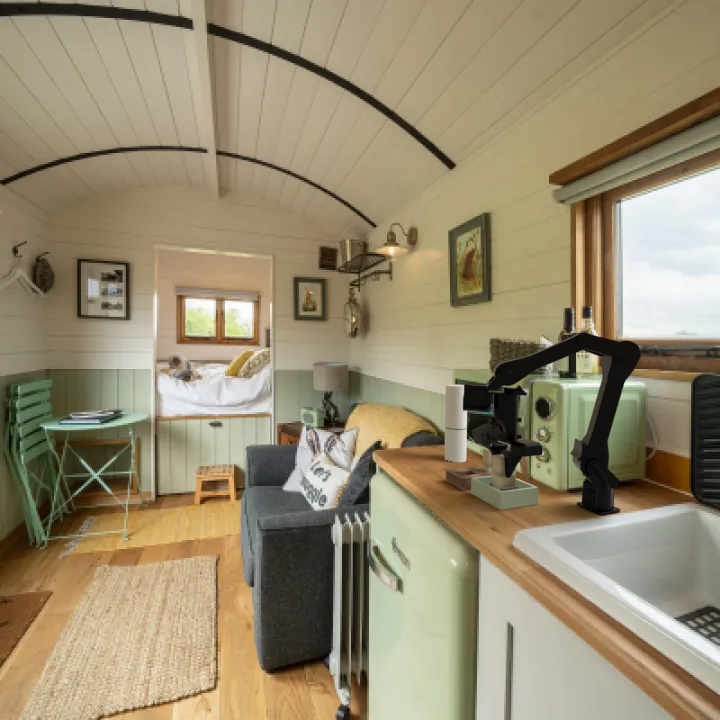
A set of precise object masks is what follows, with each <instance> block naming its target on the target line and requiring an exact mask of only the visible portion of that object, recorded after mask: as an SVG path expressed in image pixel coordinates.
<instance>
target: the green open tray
mask: <svg viewBox="0 0 720 720" xmlns="http://www.w3.org/2000/svg"><path fill="white" fill-rule="evenodd" d="M470 493H471V494H472V495H473V496H475V497H477V498H479V499H481V500H482V501H484V502H485V503H487V504H489V505H491V506H493V507H495V508H496V509H498V510H500V511H502V510H503V511H504V510H509V509H515V508H523V507H528V506H536V505H538V504H539V487H538V486H536V485H534V484H531V483H528V482H526V481H524V480H521V479H519V478H517V477H516V486H515V487H508V488H500V490H498V489H496V488H494V487H492V476H484V477H475V478H472V479H471V492H470Z"/></svg>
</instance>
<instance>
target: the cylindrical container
mask: <svg viewBox="0 0 720 720" xmlns="http://www.w3.org/2000/svg"><path fill="white" fill-rule="evenodd" d="M463 396H464V384H445V396H444V397H445V399H444V400H445V401H444V402H445V403H444V404H445V405H444V406H445V407H444V409H445V410H444V411H445V412H444V454H443V455H444V460H445V461H447V460H448V461H447V462H450V461H452V462H451V463H464V462H466V461H467V444H468V443H467V432H468V431H467V430H468V427H467V426H468V411H463Z"/></svg>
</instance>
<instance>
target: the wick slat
mask: <svg viewBox="0 0 720 720" xmlns="http://www.w3.org/2000/svg"><path fill="white" fill-rule="evenodd" d="M482 466H483V470H484V471H486V472H488V473H490V472H492V466H493V456H492V454H491V452H490V451H489V450H488V449H487V448H486V447H485V448H482Z"/></svg>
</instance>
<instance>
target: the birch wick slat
mask: <svg viewBox="0 0 720 720" xmlns="http://www.w3.org/2000/svg"><path fill="white" fill-rule="evenodd" d="M516 473H517V467H516V468H515V470H514V472H513V474H512V475H511V477H510V478H507V477H506V474H505V457H504V455H503V454H501V455H493V466H492V487H494V488H496V489H498V490H500V488H508V487H515V486H516V478H517V474H516Z"/></svg>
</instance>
